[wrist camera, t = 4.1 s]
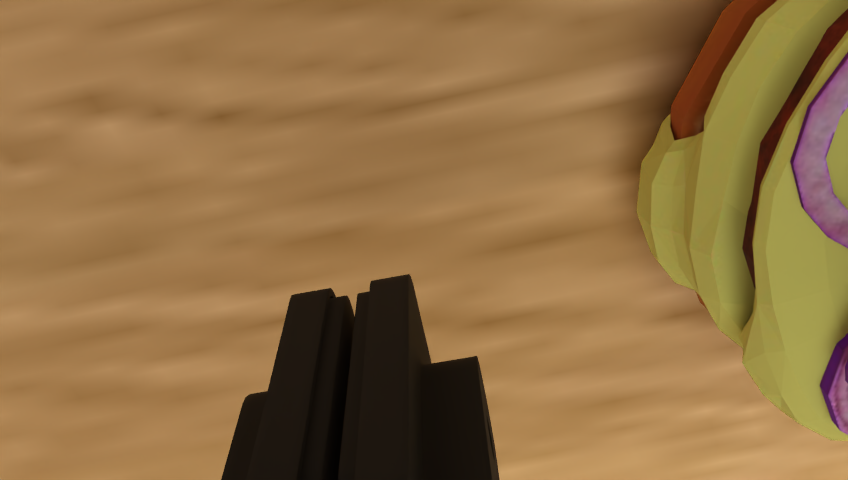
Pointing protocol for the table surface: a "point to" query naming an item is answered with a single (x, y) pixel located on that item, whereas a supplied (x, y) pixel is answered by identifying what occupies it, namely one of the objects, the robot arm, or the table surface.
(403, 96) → the table surface
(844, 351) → the cheeseburger
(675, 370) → the table surface
